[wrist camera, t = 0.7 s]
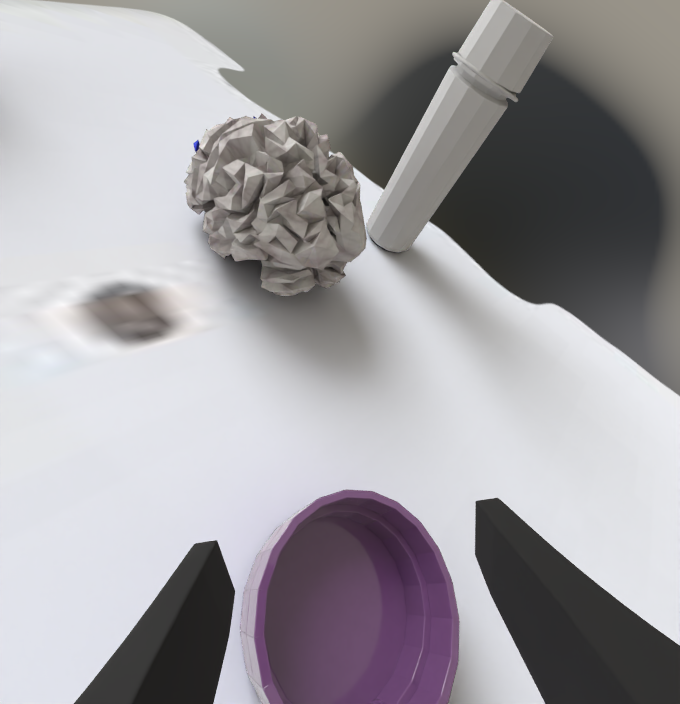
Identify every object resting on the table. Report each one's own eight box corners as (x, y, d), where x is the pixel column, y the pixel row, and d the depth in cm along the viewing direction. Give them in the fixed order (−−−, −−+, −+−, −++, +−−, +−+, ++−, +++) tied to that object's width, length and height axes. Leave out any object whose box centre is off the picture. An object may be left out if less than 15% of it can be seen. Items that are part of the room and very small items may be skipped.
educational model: (265, 245, 47) (255, 110, 39) (387, 289, 38) (411, 123, 29) (169, 272, 38) (127, 104, 29) (297, 340, 29) (293, 120, 20)
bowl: (440, 668, 23) (494, 684, 19) (264, 797, 17) (291, 856, 13) (375, 486, 28) (407, 469, 24) (223, 536, 22) (233, 524, 18)
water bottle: (396, 264, 46) (552, 38, 27) (352, 228, 47) (475, -17, 28) (422, 242, 52) (566, 43, 33) (383, 210, 53) (502, -2, 34)
